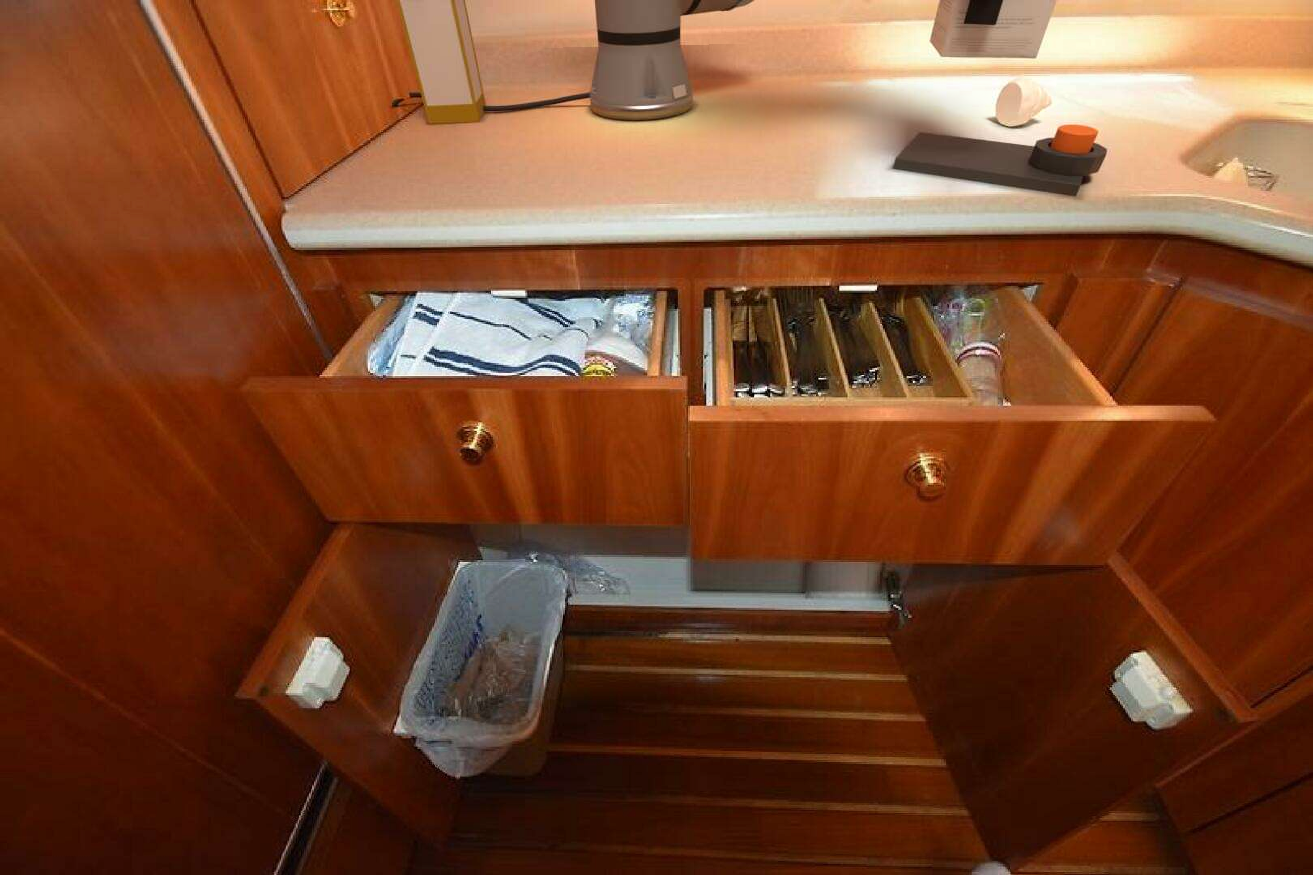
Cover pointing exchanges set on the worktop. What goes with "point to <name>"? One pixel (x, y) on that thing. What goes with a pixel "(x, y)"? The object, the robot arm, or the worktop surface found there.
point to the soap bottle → (443, 59)
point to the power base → (1000, 162)
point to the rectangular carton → (992, 30)
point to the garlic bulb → (1020, 101)
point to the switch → (1074, 139)
